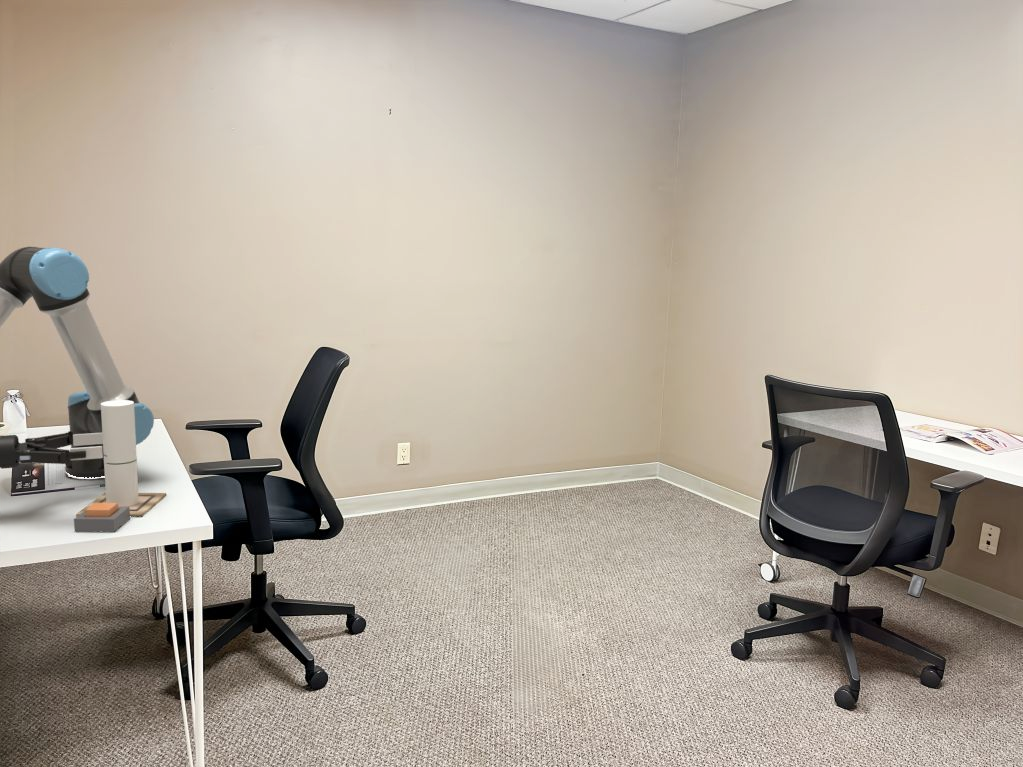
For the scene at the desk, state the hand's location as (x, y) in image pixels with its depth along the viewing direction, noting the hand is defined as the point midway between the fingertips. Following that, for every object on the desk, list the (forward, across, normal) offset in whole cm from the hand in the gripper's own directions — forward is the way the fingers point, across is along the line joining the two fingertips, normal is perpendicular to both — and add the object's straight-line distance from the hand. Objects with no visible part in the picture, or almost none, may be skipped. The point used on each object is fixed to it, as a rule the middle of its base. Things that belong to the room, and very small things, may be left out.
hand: (103, 444), depth 188 cm
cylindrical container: (+4, 0, -15) cm, 16 cm away
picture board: (+4, 0, -16) cm, 16 cm away
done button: (-1, +13, -14) cm, 19 cm away
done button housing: (-1, +12, -16) cm, 20 cm away
